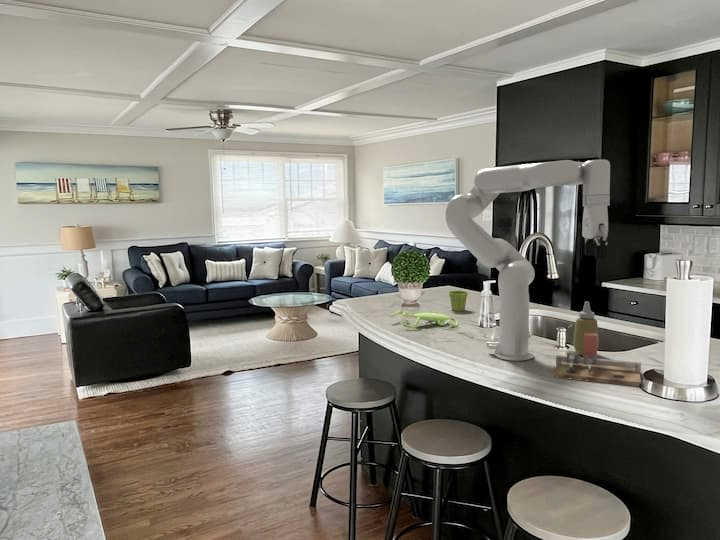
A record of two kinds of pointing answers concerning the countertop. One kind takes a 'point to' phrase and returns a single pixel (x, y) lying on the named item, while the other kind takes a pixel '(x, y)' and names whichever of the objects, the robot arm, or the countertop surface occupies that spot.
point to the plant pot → (458, 300)
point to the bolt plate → (599, 373)
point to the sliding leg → (590, 350)
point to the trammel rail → (574, 358)
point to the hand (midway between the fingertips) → (595, 257)
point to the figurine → (427, 318)
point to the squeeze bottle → (584, 328)
